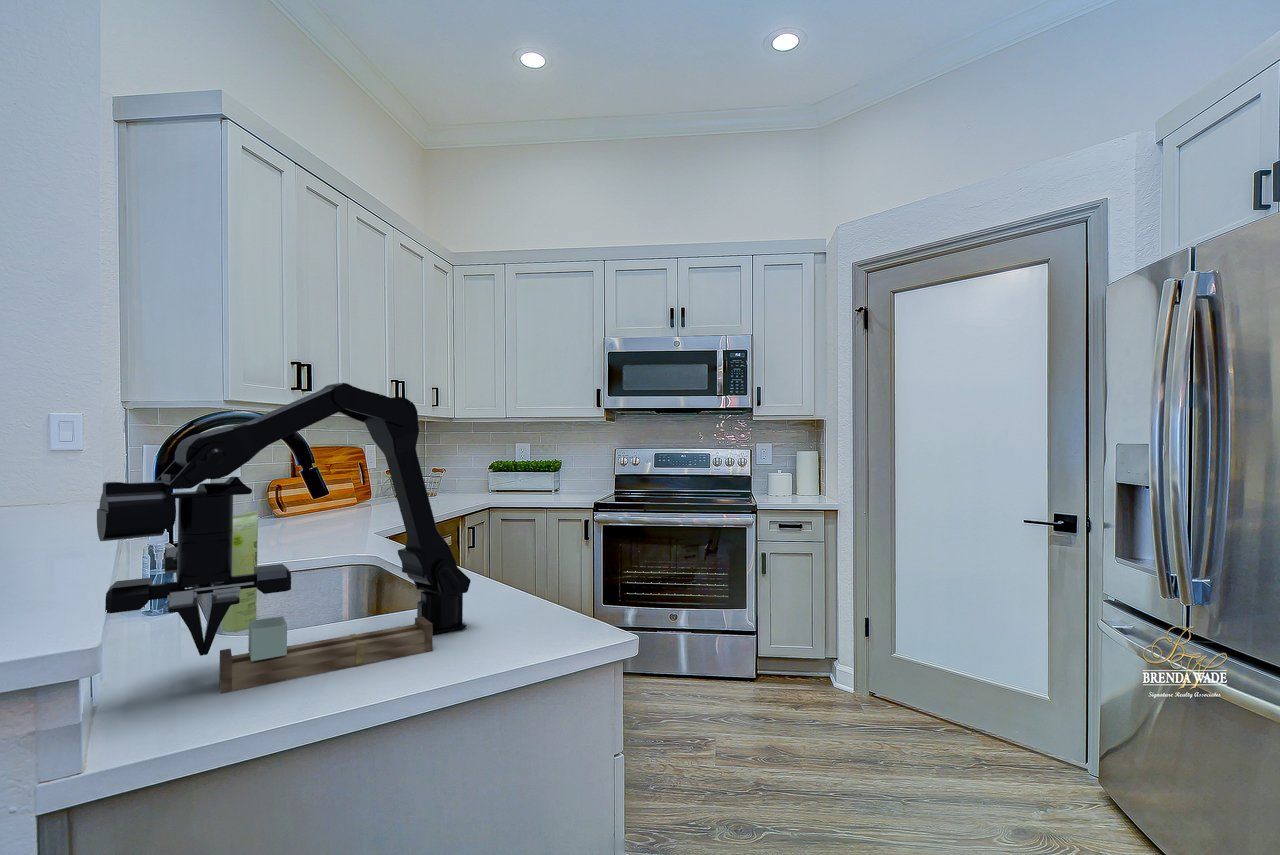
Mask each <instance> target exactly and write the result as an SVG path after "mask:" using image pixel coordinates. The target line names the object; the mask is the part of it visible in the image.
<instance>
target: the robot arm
mask: <svg viewBox="0 0 1280 855" xmlns="http://www.w3.org/2000/svg"><path fill="white" fill-rule="evenodd" d="M338 413H339V414H342V415H344V416H345V417H348V418H350V419H352V420H354V421H355V420H356V421H358V422H361V423H364V424H365V427H366V428H367V430H368V432H369V435H370V437H371V439H372V440H373V442H374V444H376V445H377V447H378V448H379V449H380V450H381V451H380V452H382V453H383V455H384V457H385V460H386V463H387V466H388V467H387V468H388V471H389V474H390V478H391V482H392V485H393V489H394V493H395V496H396V499H397V503H398V508H399V510H400V515H401V520H402V522H403V526H404V529H405V533H406V542H405V547H404V548H399V549H398V550H397V555H398V556H399V560H400V561H401V566H402V567H401V572H402V573H404V574H406V575H407V577H408V578H409V579H410V580H412V582H413V583H414V585H415V586H414V587H415V589H416V590H418V591H420V600H419V601H417V605H416V606H417V608H416V611H417V613H416V614H417V616H416V617H422V616H423V617H424V618H425V619H427V620H428V621H429V622H431V623H432V624H433V635H436V634H441V633H447V632H452V631H458V630H462V629H463V630H464V629H467V624H466V623H464V621H463V615H464V613H463V612H464V611H463V606H464V605H463V604H464V600H463V598H464V597H463V596H464V594H466V593H468V591H469V588H470V584H471V579H470V578H469V577H468V576H467V575H466V573H464V572H463V571H462V570H461V569H460V568H459V567H458V563H457V560H456V558H455V555H454V553H453V551H452V549H451V546H450V545H449V544H448V542H447V541H446V540H445V538H444V537H443V536H442V534H441V533H440V531H439V530H438V528H437V525H436V520H435V518H434V514H433V513H434V512H433V509H432V505H431V501H430V498H429V495H428V494H429V493H428V491H427V486H426V484H425V480H424V476H423V473H422V469H421V468H422V467H421V465H420V464H421V463H420V460H419V457H418V453H417V443H418V441H419V440H418V439H419V434H420V424H419V413H418V410H417V407H416V405H415V404H414V402H413V401H411V400H410V399H408V398H406V397H402V396H395V397H389V396H387V395H384V394H380V393H376V392H373V391H368V390H365V389H362V388H358V387H356V386H354V385H351V384H350V383H348V382H346V383H345V382H338V383H337V382H336V383H332V384H328V385H325V386H324V387H323V388H322V389H320V390H318V391H316V392H312V393H311V394H309V395H306V396H304V397H301V398H299V399H296V400H295V401H292V402H290V403H288V404H285V405H284V406H281V407H278V408H277V409H274V410H272V411H269V412H267V413H264V414H262V415H260V416H258V417H256V418H253V419H251V420H248V421H245V422H241V423H238V424H234V425H229V426H226V427H220V428H217V429H212V430H208V431H205V432H200V433H196V434H193V435H190V436H188V437H186V438H184V439H182V440H181V441H180V442H179V443H178V445H177V447H176V449H175V451H174V460H173V461H172V462H171V463H170V464H169V466H167V467H166V469H165V470H164V471H163V472H162V473H161V474H160V475H159V476H158V477H157V478H156V479H155V480H154V481H150V482H149V481H148V482H145V481H142V482H121V481H120V482H119V481H105V482H103V483H102V494H101V495H100V500H99V508H97V509H96V529H97V536H98V539H99V542H109V541H110V542H111V541H119V540H127V539H128V540H130V539H141V538H151V537H160V536H163V535H164V533H165V531H166V530H167V529H168V530H169V529H171V528H172V527H174V526H175V523H176V517H177V516H178V517H177V521H178V522H177V546H175V547H173V546H172V547H166V548H164V549H165V550H164V574H165V575H168V574H175V573H176V581H174V582H164V583H153V582H152V577H145V578H144V577H143V578H135V579H133V578H132V579H126V580H125V579H123V580H117V581H115V582H114V583H113V584H112V585H111V586H109V588H108V590H107V591H106V592H105V603H104V604H105V606H104V609H105V612H106V610H107V613H106V614H118V613H123V612H124V613H125V612H132V611H140V610H142V608H143V607H145V606H146V605H147V604H148V603H149V602H150V601H154V600H155V601H156V600H164V599H166V600H167V602H168V605H167V606H168V607H167V612H168V613H170V614H173V613H178V614H179V617H180V618H181V619H182V621H183V622H184V624H185V625H186V627H187V628H188V630H189V632H190V635H191V637H192V639H193V642H194V645H195V647H196V649H197V652H198V655H199V656H201V657H202V656H206V655H207V656H208V655H209V652H210V650H211V648H212V645H213V642H214V640H215V638H216V635H217V633H218V629H219V627H220V625H221V624H222V620H223V618H224V616H225V614H226V613H227V611H228V609H229V607H230V606H231V605H234V604H239V603H240V598H239V594H238V593H239V592H240V589H247V588H255V587H257V590H258V591H259V592H261V594H264V595H267V594H274V593H275V594H276V593H284V592H289V591H291V590H292V572H291V571H290V570H289V568H288V567H287V566H286V565H285V564H283V563H280V564H279V563H278V564H271V565H270V564H269V565H268V564H267V565H261V566H259V565H257V567H254V574H244V575H235V576H232V544H233V530H232V529H233V515H234V512H233V511H234V496H240V495H250V494H252V493H253V489H252V488H251V487H249V486H247V485H246V484H245V483H244V482H243V481H242V480H241V479H240V477H239V476H234V475H232V476H230V477H229V478H228V479H227V480H226V481H225V482H224V481H223V482H208V483H207V482H205V483H203V482H204V481H206V480H218V479H221V478H225V477H228V476H229V475H230V474H232V473H234V472H235V471H237V470H238V469H239V468H241V467H242V466H243V465H245V464H247V463H248V462H250V461H251V460H252V459H253V458H255V456H257V454H259V453H260V452H261V451H262V450H263V449H265V448H266V447H268V446H269V445H272V444H273V443H275V442H278V441H280V440H282V439H284V438H286V437H288V436H291V435H293V434H295V433H296V432H299V431H301V430H304V429H306V428H308V427H309V426H312V425H314V424H316V423H318V422H321V421H323V420H325V419H327V418H328V417H331V416H333V415H335V414H338ZM194 487H196V489H195V490H194V491H183V492H181V491H180V492H172V490H186V489H192V488H194ZM176 499H178V504H176V503H177V502H176ZM177 505H178V507H177ZM177 508H178V509H177ZM177 510H178V513H177ZM177 514H178V515H177ZM205 594H210V595H211V596H210V604H209V610H208V615H207V616H208V617H207V620H206V628H205V633H204V632H203V627H202V618H201V614H200V604H199V597H198V595H205ZM105 612H104V613H105Z"/></svg>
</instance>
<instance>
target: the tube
mask: <svg viewBox="0 0 1280 855" xmlns="http://www.w3.org/2000/svg"><path fill="white" fill-rule="evenodd" d="M232 530H233V544H232V576H235V575H244V574H254V567H258V539H259V538H258V536H259V535H258V533H259V532H258V530H259V511H258V510H254V511H249V512H243V513H237V514H233V529H232ZM257 590H258V589H257V587H255V588H247V589H240V592H239V593H238V594H239V598H240V603H239V604H234V605H231V606H230V607H229V609H228V611H227V613H226V614H225V616H224V618H223V620H222V621H221V630H222V631H223V632H226V633H237V632H242V631H246V630H249V621H252V620H257V602H258V601H257V600H258V598H257V597H258V596H257V594H258V591H257Z"/></svg>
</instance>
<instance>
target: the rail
mask: <svg viewBox="0 0 1280 855" xmlns="http://www.w3.org/2000/svg"><path fill="white" fill-rule="evenodd" d="M433 635H434V634H433V624H432V623H431V622H429V621H428V620H427V619H425V618H424V617H423V616H422V617H417V616H416V617H414V623H413V624H409V625H408V624H407V625H402V626H396V627H391V628H385V629H380V630H372V631H368V632H362V633H352V634H349V635H345V636H339V637H333V638H326V639H321V640H315V641H310V642H304V643H299V644H292V645H287V655H284V656H279V657H273V658H267V659H262V660H256V661H251V659H250V655H249V652H245V653H241V654H234V655H232V649H231V648H225V649H224V648H223V649H220V650H219V664H218V665H219V668H218V669H219V670H218V671H219V672H218V674H219V675H218V677H219V678H218V679H219V680H218V684H219V692H220V694H224V693H230V692H233V691H239V690H244V689H250V688H253V687H259V686H265V685H269V684H273V683H279V682H284V681H289V680H293V679H298V678H304V677H308V676H309V677H310V676H313V675H318V674H324V673H328V672H334V671H338V670H342V669H343V670H344V669H347V668H354V667H358V666H363V665H369V664H374V663H377V662H378V663H379V662H383V661H387V660H393V659H398V658H402V657H403V658H404V657H408V656H414V655H417V654H423V653H428V652H432V651H433Z"/></svg>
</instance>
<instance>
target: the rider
mask: <svg viewBox="0 0 1280 855" xmlns="http://www.w3.org/2000/svg"><path fill="white" fill-rule="evenodd" d="M287 646H288V623H287V622H286V620H285V617H284V616H283V615H281V616H275V617H266V618H261V619H256V620H252V621H249V629H248V650H247V652H248V653H249V655H250V659H251V661H256V660H262V659H267V658H273V657H279V656H284V655H287Z"/></svg>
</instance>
